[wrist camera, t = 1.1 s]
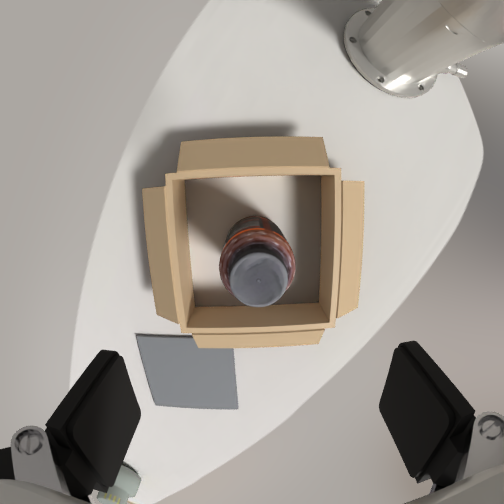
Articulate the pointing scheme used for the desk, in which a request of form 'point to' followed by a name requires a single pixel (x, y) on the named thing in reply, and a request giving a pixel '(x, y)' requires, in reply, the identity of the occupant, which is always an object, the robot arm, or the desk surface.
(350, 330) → the desk surface
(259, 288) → the supplement bottle
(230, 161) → the carton
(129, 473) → the air freshener
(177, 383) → the mat
